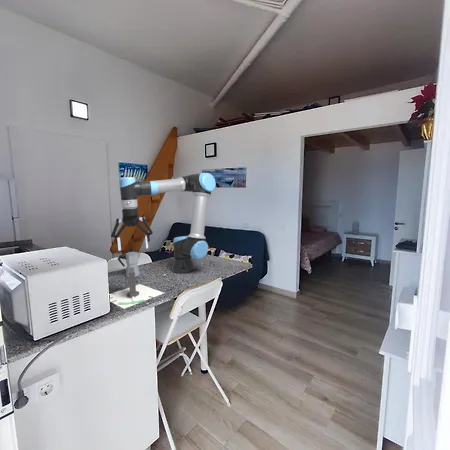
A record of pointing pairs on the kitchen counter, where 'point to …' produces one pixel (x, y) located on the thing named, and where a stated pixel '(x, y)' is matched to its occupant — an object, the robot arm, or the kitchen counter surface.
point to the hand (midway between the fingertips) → (133, 249)
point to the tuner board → (144, 294)
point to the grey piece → (132, 284)
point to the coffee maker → (130, 261)
